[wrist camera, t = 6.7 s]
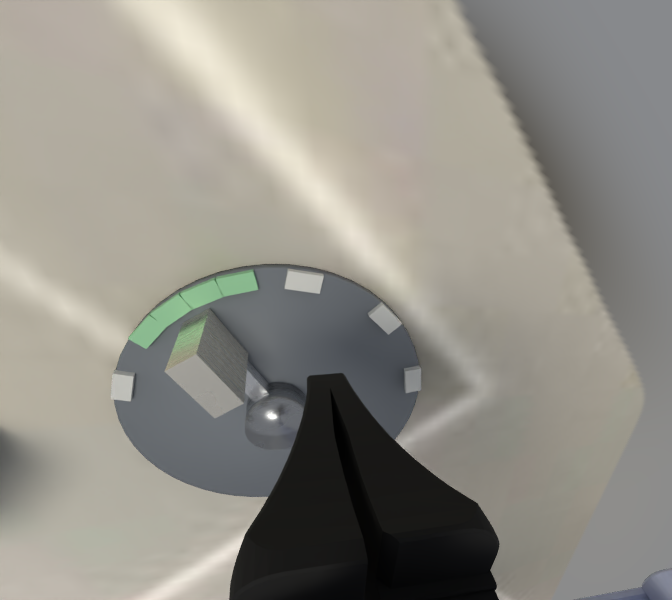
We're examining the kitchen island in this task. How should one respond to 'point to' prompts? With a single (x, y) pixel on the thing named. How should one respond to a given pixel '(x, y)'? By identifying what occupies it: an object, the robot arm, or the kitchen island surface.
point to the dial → (260, 368)
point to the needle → (233, 382)
